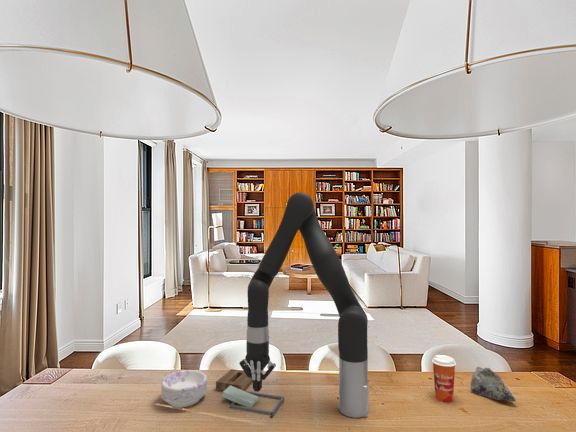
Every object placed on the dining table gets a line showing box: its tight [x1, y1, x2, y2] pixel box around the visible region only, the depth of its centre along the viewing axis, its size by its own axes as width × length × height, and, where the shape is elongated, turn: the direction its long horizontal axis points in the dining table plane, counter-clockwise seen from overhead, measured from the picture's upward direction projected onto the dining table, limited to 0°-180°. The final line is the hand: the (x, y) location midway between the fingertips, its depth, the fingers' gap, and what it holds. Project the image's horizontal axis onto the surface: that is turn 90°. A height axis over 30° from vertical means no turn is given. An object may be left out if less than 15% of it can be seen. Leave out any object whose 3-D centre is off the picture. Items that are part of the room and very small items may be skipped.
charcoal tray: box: [229, 390, 285, 419], centre depth 122 cm, size 15×11×2 cm
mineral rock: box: [469, 366, 517, 403], centre depth 128 cm, size 13×11×10 cm
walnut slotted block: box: [215, 368, 253, 393], centre depth 135 cm, size 10×12×4 cm
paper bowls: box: [160, 369, 208, 409], centre depth 125 cm, size 15×15×8 cm
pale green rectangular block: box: [221, 386, 259, 408], centre depth 123 cm, size 2×5×11 cm
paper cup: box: [431, 354, 457, 403], centre depth 127 cm, size 8×8×14 cm
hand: (257, 390), depth 122 cm, fingers closed
